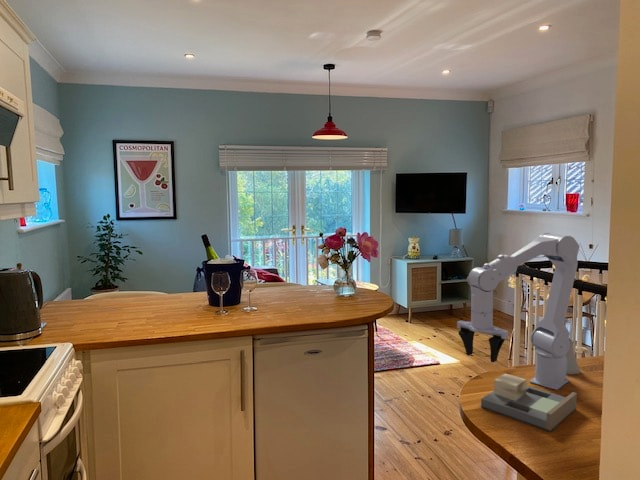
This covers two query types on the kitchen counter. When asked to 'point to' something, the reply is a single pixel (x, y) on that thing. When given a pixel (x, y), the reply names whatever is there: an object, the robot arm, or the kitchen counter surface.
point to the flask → (571, 360)
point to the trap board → (533, 407)
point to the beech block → (510, 386)
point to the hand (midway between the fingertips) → (481, 357)
